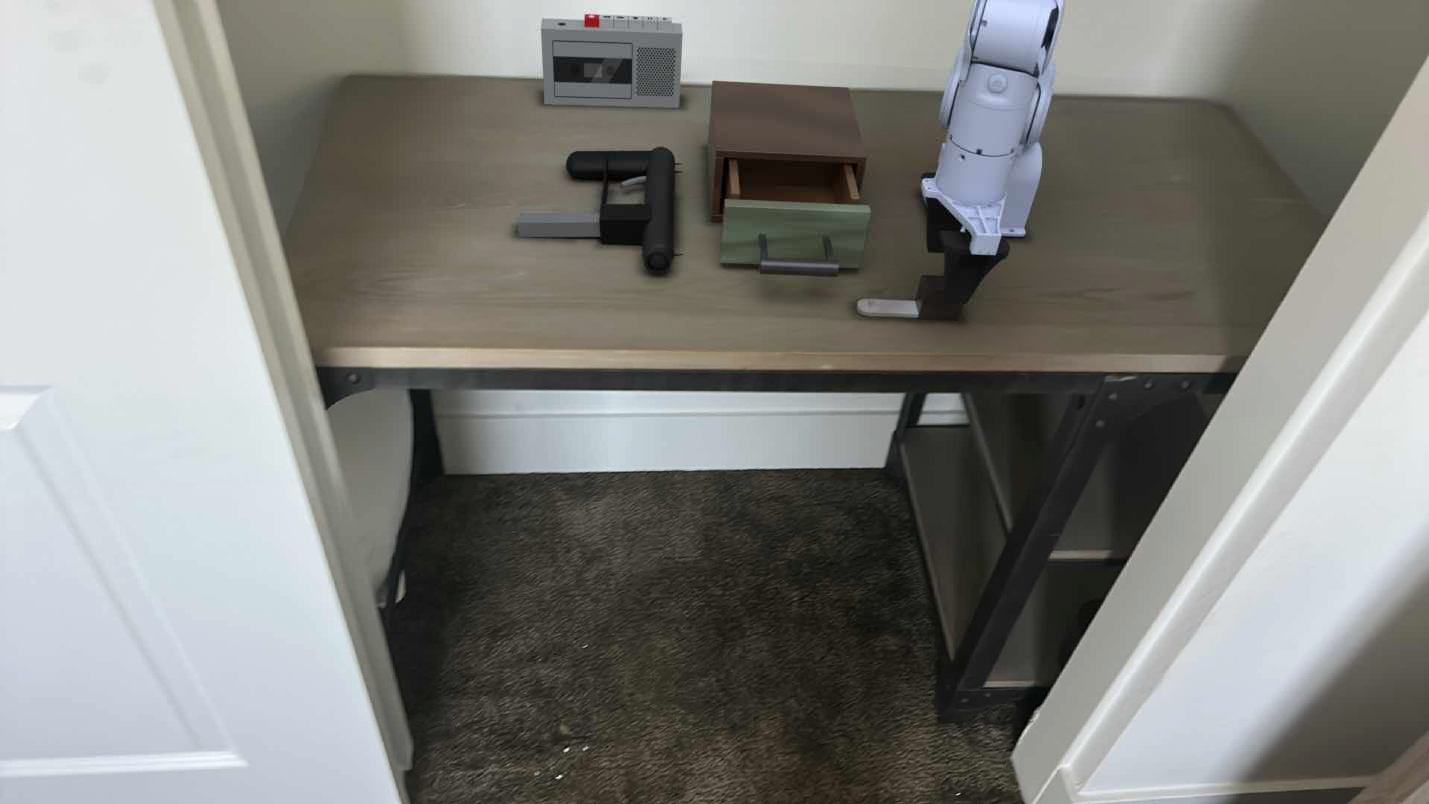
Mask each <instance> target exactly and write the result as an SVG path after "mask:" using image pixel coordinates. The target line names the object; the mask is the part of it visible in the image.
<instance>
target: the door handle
mask: <svg viewBox="0 0 1429 804" xmlns="http://www.w3.org/2000/svg"><path fill="white" fill-rule="evenodd" d="M681 165H682V163H678V162H676V158H675V155H674V153H673V151H672V150H670V149H669V148H668V147H665V146H656V147H654V148H652V149H651V150H575V151H573V152H571V153H570V154H569V155H568V156H567V159H566V161H565V168H566V172H567V173H568V175H569V176H570V177H572V178H574V179H603V181H602V190H601V201H600V208H599V212H540V213H539V212H534V213H533V212H531V213H527V212H525V213H519V214H518V220H517V227H518V228H517V229H518V235H519V238H584V237H585V238H593V237H595V238H597V237H598V238H600V245H642V248H641V249H642V251H641V252H642V253H641V256H642V260H643V263H644V267H645V269H646V270H647V271H648V272H650V273H652V274H655V275H661V274H664V273H667V272H668V271H669V270H670V268H671V267H672V263H673V262H674V260H675V259H674V258H675V257H681V256H684V253H675V218H676V217H675V215H676V213H675V211H676V210H675V207H676V203H675V199H676V174H680V173H682V171H679V170H676V166H681ZM610 179H627V180H624V181H621V182H620V183H619V184H618V185H619V188H620V189H621V190H625V189H627V188H629V187H631V186H635V185H638V184H644V183H645V188H644V189H645V190H644V203H608V194H609V182H610Z"/></svg>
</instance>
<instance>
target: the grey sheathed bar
mask: <svg viewBox="0 0 1429 804" xmlns="http://www.w3.org/2000/svg"><path fill="white" fill-rule="evenodd" d="M943 276H944V275H940V274H939V275H938V274H921V275H920V279H919V284H918V288H917V291H916V296H915V299H914V300H907V299H906V300H905V299H878V298H862V299H860V300H858V301H857V302H856V306H855V307H856V312H857V313H859V314H860V315H862V316H866V317H884V318H885V317H886V318H911V319H918V320H920V319H921V320H941V321H942V320H943V321H947V320H948V321H959V320H960V316H961V314H962V310H963V306H964V304H945V303H944V302H943V298H942V284H943Z"/></svg>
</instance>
